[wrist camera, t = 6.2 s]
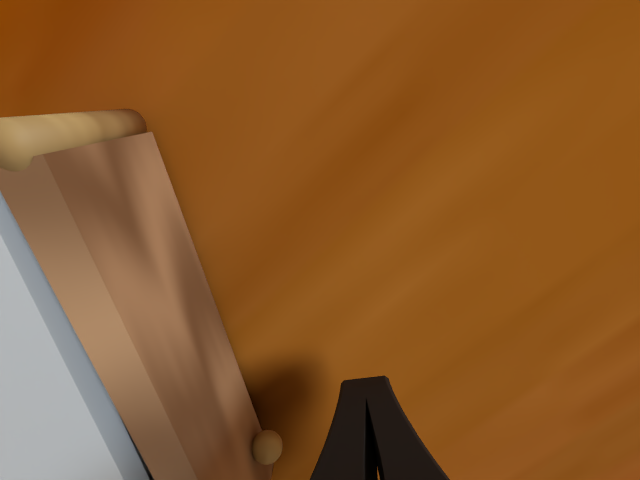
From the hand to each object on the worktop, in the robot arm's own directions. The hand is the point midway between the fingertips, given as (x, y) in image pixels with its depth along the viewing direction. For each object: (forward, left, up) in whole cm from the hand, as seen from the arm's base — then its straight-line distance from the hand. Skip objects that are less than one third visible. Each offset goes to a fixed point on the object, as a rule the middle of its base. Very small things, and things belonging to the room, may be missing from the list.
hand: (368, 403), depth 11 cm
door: (+2, +5, -3) cm, 6 cm away
